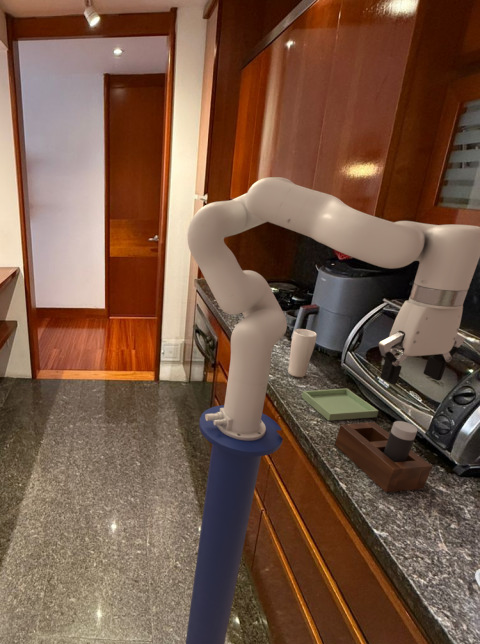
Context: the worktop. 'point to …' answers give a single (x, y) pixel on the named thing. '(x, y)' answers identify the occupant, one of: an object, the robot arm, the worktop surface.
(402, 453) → the tool handle
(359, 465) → the holder
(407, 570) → the worktop surface
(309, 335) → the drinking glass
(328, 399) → the tray
